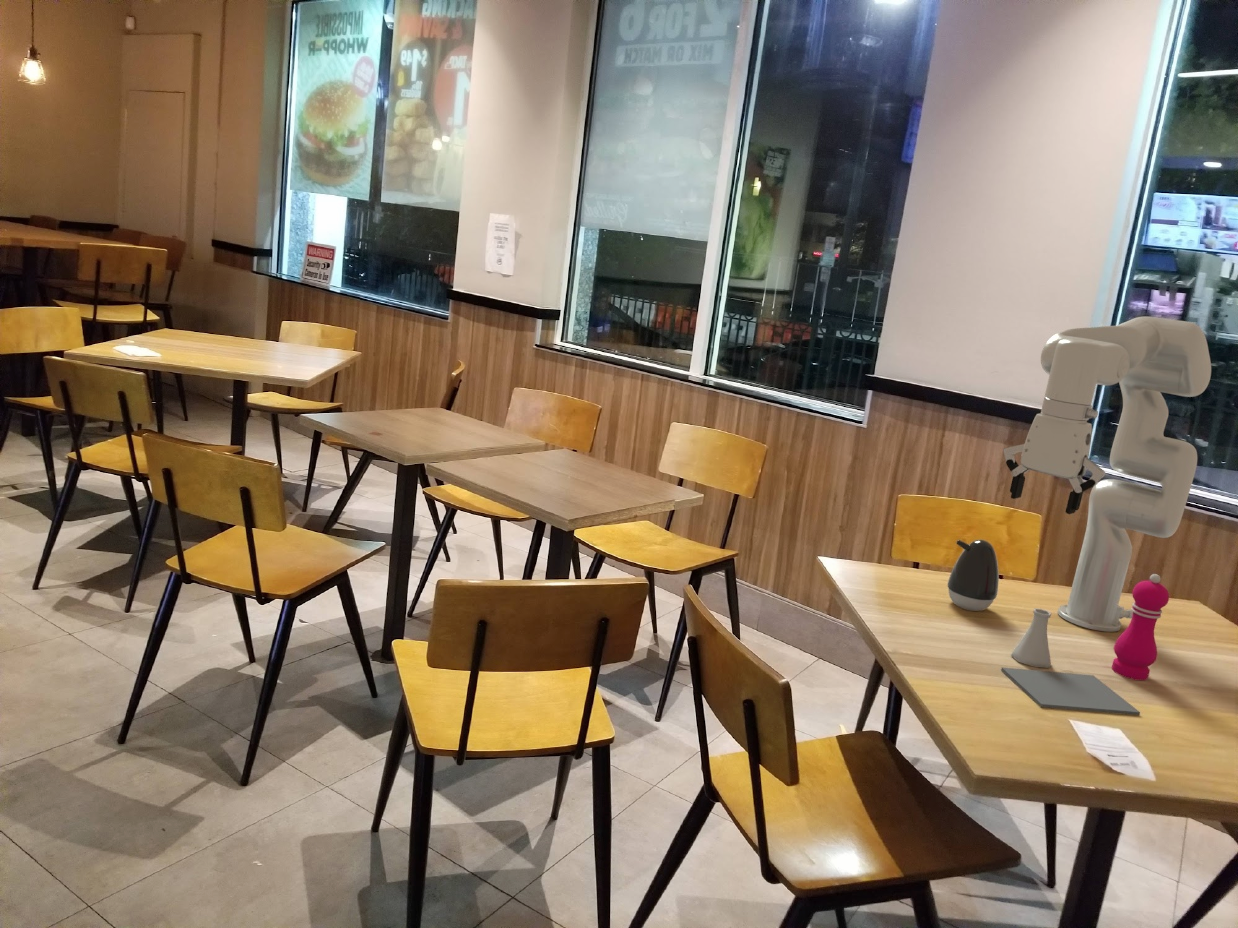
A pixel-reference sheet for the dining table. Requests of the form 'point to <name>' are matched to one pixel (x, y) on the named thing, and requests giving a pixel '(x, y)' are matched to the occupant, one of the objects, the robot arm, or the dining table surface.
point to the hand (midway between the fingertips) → (1042, 505)
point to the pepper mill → (1141, 631)
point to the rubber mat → (1069, 691)
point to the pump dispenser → (974, 576)
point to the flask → (1035, 642)
